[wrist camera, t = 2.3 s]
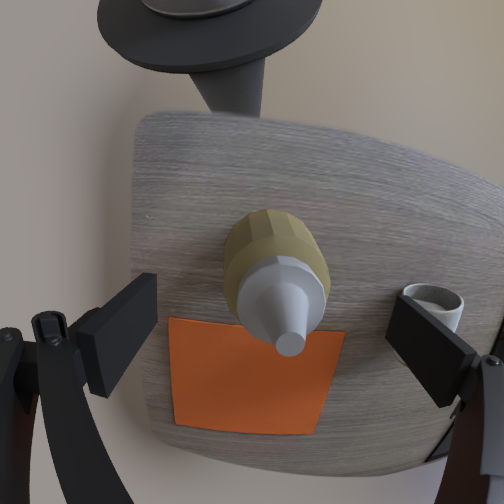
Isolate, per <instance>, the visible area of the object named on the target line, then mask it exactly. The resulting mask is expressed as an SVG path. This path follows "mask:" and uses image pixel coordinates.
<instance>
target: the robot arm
mask: <svg viewBox="0 0 504 504" xmlns="http://www.w3.org/2000/svg"><path fill="white" fill-rule="evenodd" d="M141 1H142V2H143V4H144V5H145V6H146V8H147V9H148V10H149V11H151V12H152V13H154V14H156V15H158V16H161V17H164V18H167V19H173V20H202V19H209V18H215V17H219V16H223V15H226V14H229V13H232V12H235V11H237V10H240V9H242V8H244V7H246V6H248V5H250V4H252V3H253V2H255V1H256V0H141ZM157 322H158V316H157V274H152V273H144V272H143V273H142V274H141V275H140V276H138V277H137V278H136V279H135V280H133V281H132V282H131V283H130V284H129V285H127V287H125V288H124V289H123V290H122V291H120V292H119V293H118V294H117V295H116V296H115V297H114V298H112V299H111V300H110V301H109V302H107V303H106V304H105V305H104V306H103V307H102V308H98V307H97V308H94V309H92V310H89V311H87V312H86V313H85V314H84V315H83V316H82V317H80V318H79V319H78V320H77V322H74V323H73V324H72V325H71V326H70V327H68V328H67V323H66V318H65V316H64V314H63V313H61V312H57V311H45V312H41V313H39V314H36V315H35V316H34V317H33V318H32V320H31V323H32V327H33V331H34V336H35V339H36V342H29V341H23V337H22V334H21V332H20V330H19V329H17V328H8V327H6V328H2V329H0V504H30V494H29V483H30V482H29V481H30V458H31V446H32V436H33V428H34V420H35V414H36V408H37V403H38V397H39V395H40V398H41V405H42V412H43V418H44V423H45V429H46V434H47V438H48V443H49V447H50V451H51V455H52V459H53V463H54V466H55V470H56V473H57V476H58V479H59V483H60V485H61V489H62V491H63V494H64V497H65V500H66V502H67V504H134V502H133V501H132V499H131V497H130V496H129V494H128V492H127V491H126V489H125V487H124V485H123V483H122V481H121V479H120V478H119V476H118V474H117V472H116V470H115V468H114V466H113V464H112V462H111V460H110V458H109V455H108V453H107V451H106V449H105V447H104V445H103V442H102V440H101V438H100V435H99V432H98V430H97V428H96V425H95V422H94V420H93V417H92V414H91V412H90V409H89V406H88V403H87V400H86V397H85V394H84V391H83V386H84V385H85V384H86V382H87V383H88V386H89V390H90V393H91V394H95V395H98V396H101V397H105V398H107V399H108V397H109V396H110V394H111V392H112V391H113V389H114V387H115V386H116V384H117V383H118V381H119V380H120V378H121V377H122V375H123V373H124V372H125V370H126V369H127V367H128V366H129V364H130V362H131V361H132V359H133V358H134V356H135V355H136V353H137V352H138V350H139V349H140V347H141V346H142V344H143V343H144V341H145V340H146V338H147V337H148V335H149V334H150V332H151V331H152V329H153V328H154V326H155V325H156V323H157ZM385 339H386V340H387V341H388V342H389V343H390V345H391V346H392V347H393V348H394V350H395V351H396V352H397V354H398V355H399V356H400V357H401V359H402V360H403V361H404V362H405V364H406V365H407V366H408V368H409V369H410V370H411V371H412V373H413V374H414V375H415V377H416V378H417V379H418V381H419V382H420V383H421V385H422V386H423V387H424V389H425V390H426V391H427V393H428V394H429V395H430V397H431V398H432V399H433V401H434V402H435V403H436V405H437V406H438V407H439V408H442V407H446V406H450V405H451V404H452V402H453V401H454V399H455V397H456V395H457V394H458V395H459V397H460V398H461V399H460V401H459V403H458V404H457V406H456V408H455V409H454V411H453V413H452V414H451V416H450V419H452V417H453V416H454V415H456V417H455V419H454V420H455V423H454V429H453V435H452V440H451V445H450V450H449V454H448V458H447V463H446V466H445V470H444V474H443V477H442V481H441V484H440V487H439V491H438V494H437V497H436V500H435V503H434V504H504V364H503V362H502V361H501V360H500V359H498V358H497V357H495V356H492V355H483V356H482V357H480V356H479V355H478V354H477V352H476V351H475V350H474V349H473V348H472V347H471V346H469V345H468V344H467V343H466V342H465V341H464V340H462V339H461V338H460V337H459V336H458V335H456V334H455V333H454V332H453V331H452V330H450V329H449V328H448V327H447V326H446V325H444V324H443V323H442V322H441V321H439V320H438V319H437V318H436V317H434V316H433V315H432V314H431V313H429V312H428V311H427V310H426V309H424V308H423V307H422V306H421V305H419V304H418V303H417V302H416V301H414V300H413V299H412V298H410V297H409V296H408V295H397V298H396V301H395V305H394V309H393V312H392V316H391V320H390V323H389V326H388V330H387V333H386V336H385Z"/></svg>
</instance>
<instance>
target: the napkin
mask: <svg viewBox="0 0 504 504" xmlns="http://www.w3.org/2000/svg"><path fill="white" fill-rule="evenodd" d="M168 327H169V351H170V369H171V383H172V395H173V405H174V415H175V424H179V425H185V426H191V427H198V428H205V429H212V430H221V431H231V432H243V433H258V434H313V432H314V429H315V426H316V424H317V421H318V418H319V416H320V413H321V410H322V408H323V405H324V402H325V399H326V396H327V393H328V390H329V387H330V384H331V381H332V378H333V375H334V372H335V368H336V365H337V362H338V358H339V355H340V352H341V348H342V345H343V341H344V337H345V334H346V333H345V332H333V331H312V332H311V333H309V334H308V335H306V339H305V346H304V349H303V350H302V351H301V352H300V353H299V354H297V355H295V356H292V357H287V356H283V355H281V354H280V353H279V352H278V351H277V350H276V348H275V347H274V345H273V343H266V342H264V341H262V340H259V339H257V338H255V337H253V336H252V335H251V334H250V333H249V332H248V331H247V330H246V329H245V328H244V327H243V326H240V325H230V324H221V323H212V322H204V321H196V320H188V319H181V318H174V317H169V318H168Z"/></svg>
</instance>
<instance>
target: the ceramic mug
mask: <svg viewBox="0 0 504 504" xmlns="http://www.w3.org/2000/svg"><path fill="white" fill-rule="evenodd" d="M401 295H408V296H409V297H410V298H412V299H413V300H414V301H416V302H417V303H418V304H419V305H421V306H422V307H423V308H424V309H426V310H427V311H428V312H429V313H431V314H432V315H433V316H434V317H436V318H437V319H438V320H439V321H441V322H442V323H443V324H444V325H446V326H447V327H448V328H449V329H450V330H452V331H453V332H454V333H455V330H456V328H457V325H458V322H459V319H460V316H461V313H462V310H463V305H464V302H463V299H462V298H461V296H460V295H458V294H457V293H456V292H454V291H452V290H450V289H448V288H446V287H442V286H439V285H434V284H421V283H419V284H412V285H409V286H407V287H405V288H404V289H403V291H402V294H401ZM393 353H394V356H395V357H396V359H397V360H398V361H399V362H400V363H401V364H403V365H404V366H406V367H408V366H407V365H406V364H405V362H404V361H403V360H402V359H401V357H400V356H399V355H398V354H397V352H396V351H395V350H394V348H393Z"/></svg>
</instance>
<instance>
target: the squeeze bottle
mask: <svg viewBox="0 0 504 504" xmlns="http://www.w3.org/2000/svg"><path fill="white" fill-rule="evenodd" d="M330 285H331V282H330V277H329V272H328V268H327V264H326V262H325V260H324V258H323V256H322V254H321V252H320V250H319V248H318V246H317V244H316V242H315V240H314V238H313V236H312V234H311V233H310V231H309V230H308V229H307V227H306V226H305V225H304V224H303V222H302V221H301V220H300V219H298V218H296V217H294V216H293V215H291V214H289V213H287V212H286V211H279V210H271V209H265V210H261V211H258V212H254V213H251V214H248V215H247V216H246V217H244V218H243V219H242V220H241V221H239V222H238V223H237V224H236V225H234V227H233V229H232V231H231V232H230V234H229V236H228V238H227V240H226V242H225V253H224V295H225V298H226V301H227V304H228V307H229V310H230V312H231V313H232V314H233V315H234V316H235V317H236V318H237V319H238V320H239V321H240V323H241V324H242V326H243V327H244V328H245V329H246V330H247V331H248V332H249V333H250V334H251V335H252V336H253V337H255V338H257V339H259V340H262V341H264V342H266V343H273V345H274V347H275V348H276V350H277V351H278V352H279V353H280V354H281V355H283V356H287V357H292V356H295V355H297V354H299V353H300V352H301V351H302V350H303V349H304V346H305V339H306V335H308V334H309V333H311V332H312V331H313V330H314V329H315V328H316V326H317V325H318V323H319V322H320V320H321V319H322V318H323V314H324V309H325V305H326V303H327V299H328V295H329V290H330Z"/></svg>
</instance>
